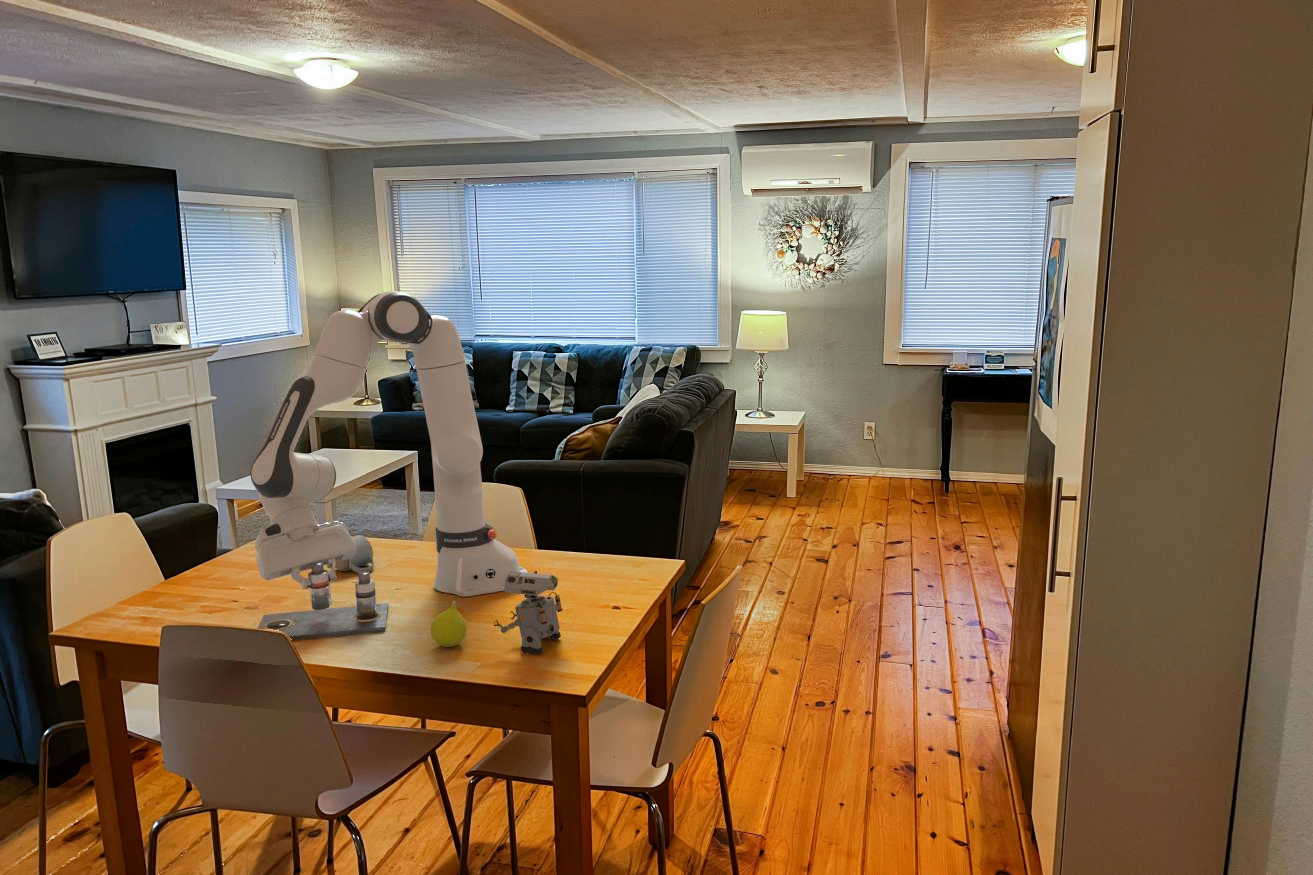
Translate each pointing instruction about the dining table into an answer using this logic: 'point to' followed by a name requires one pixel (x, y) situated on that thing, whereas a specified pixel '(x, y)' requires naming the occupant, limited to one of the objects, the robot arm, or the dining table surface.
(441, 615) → the ornament
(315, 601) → the red-banded small bottle
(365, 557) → the ceramic mug
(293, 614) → the plate
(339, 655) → the dining table surface
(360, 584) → the dark-banded small bottle
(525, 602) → the figurine
